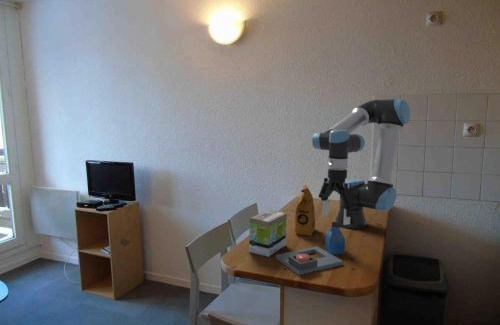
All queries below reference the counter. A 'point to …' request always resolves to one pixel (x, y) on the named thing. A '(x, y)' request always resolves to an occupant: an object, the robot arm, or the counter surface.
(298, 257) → the button
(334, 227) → the perfume bottle
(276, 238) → the tea box
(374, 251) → the counter surface
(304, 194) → the coffee package
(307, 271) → the pallet plate
